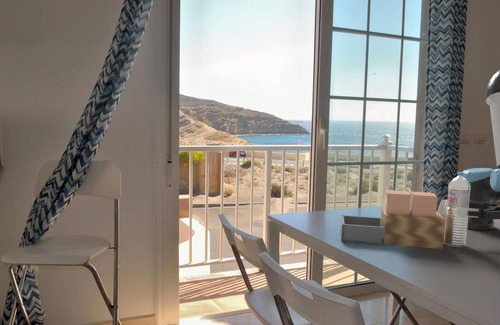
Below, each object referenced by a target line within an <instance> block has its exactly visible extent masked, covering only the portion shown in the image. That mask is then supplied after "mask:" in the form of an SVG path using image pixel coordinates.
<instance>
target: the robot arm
mask: <svg viewBox="0 0 500 325" xmlns="http://www.w3.org/2000/svg"><path fill="white" fill-rule="evenodd" d="M485 103H486V104H487V105H488V106H489V109H490V120H491V127H492V134H493V135H492V138H493V144H494V154H495V161H496V168H495V169H494V168H489V167H478V168H477V167H476V168H475V167H474V168H467V169H464V170H463V171H462V172H463V173H464V176H463V177H464V178H465V179H466V180H467V181H468V182H469V183H470V185H471V190H470V199H469V208H456V216H460V217H468V227H467V229H468V230H469V229H470V230H478V231H479V230H480V231H489V230H494V228H495V221H494V220H500V204H499V203H500V69H499V70H497V71H496V72H495V73H494V74H493V75H492V77H490V79H489V81H488V82H487V85H486V88H485ZM444 201H445V202H444V208H445V209H447V201H448V199H445V200H444ZM497 202H499V203H497Z"/></svg>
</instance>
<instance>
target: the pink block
mask: <svg viewBox="0 0 500 325" xmlns="http://www.w3.org/2000/svg"><path fill="white" fill-rule="evenodd" d="M410 196H411V195H410V192H409V191H407V190H391V189H385V190H384V199H383V200H384V202H383V208H384V211H385V213H386V214H399V215H409V210H410Z"/></svg>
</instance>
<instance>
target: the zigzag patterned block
mask: <svg viewBox="0 0 500 325" xmlns="http://www.w3.org/2000/svg"><path fill="white" fill-rule="evenodd" d="M380 218H381V221H380V227H385V236H384V245H390V246H401V247H402V246H403V247H414V248H425V249H426V248H427V249H436V250H437V249H440V250H444V245H445V243H444V235H445V223H446V217H444V216H442V214H440V212H438V210H436V217H428V216H414V215H412V214H411V213H410V212H409V215H399V214H386V213H385V211H384V207H381V211H380Z"/></svg>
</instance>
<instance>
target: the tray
mask: <svg viewBox="0 0 500 325" xmlns="http://www.w3.org/2000/svg"><path fill="white" fill-rule="evenodd" d="M340 217H341V218H340V219H341V220H340V237H341V238H340V242H341V243H353V244H366V245H378V246H385V244H384V236H385V227H380V224H381V217H374V216H373V217H372V216H360V215H346V214H342V215H341V216H340Z"/></svg>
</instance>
